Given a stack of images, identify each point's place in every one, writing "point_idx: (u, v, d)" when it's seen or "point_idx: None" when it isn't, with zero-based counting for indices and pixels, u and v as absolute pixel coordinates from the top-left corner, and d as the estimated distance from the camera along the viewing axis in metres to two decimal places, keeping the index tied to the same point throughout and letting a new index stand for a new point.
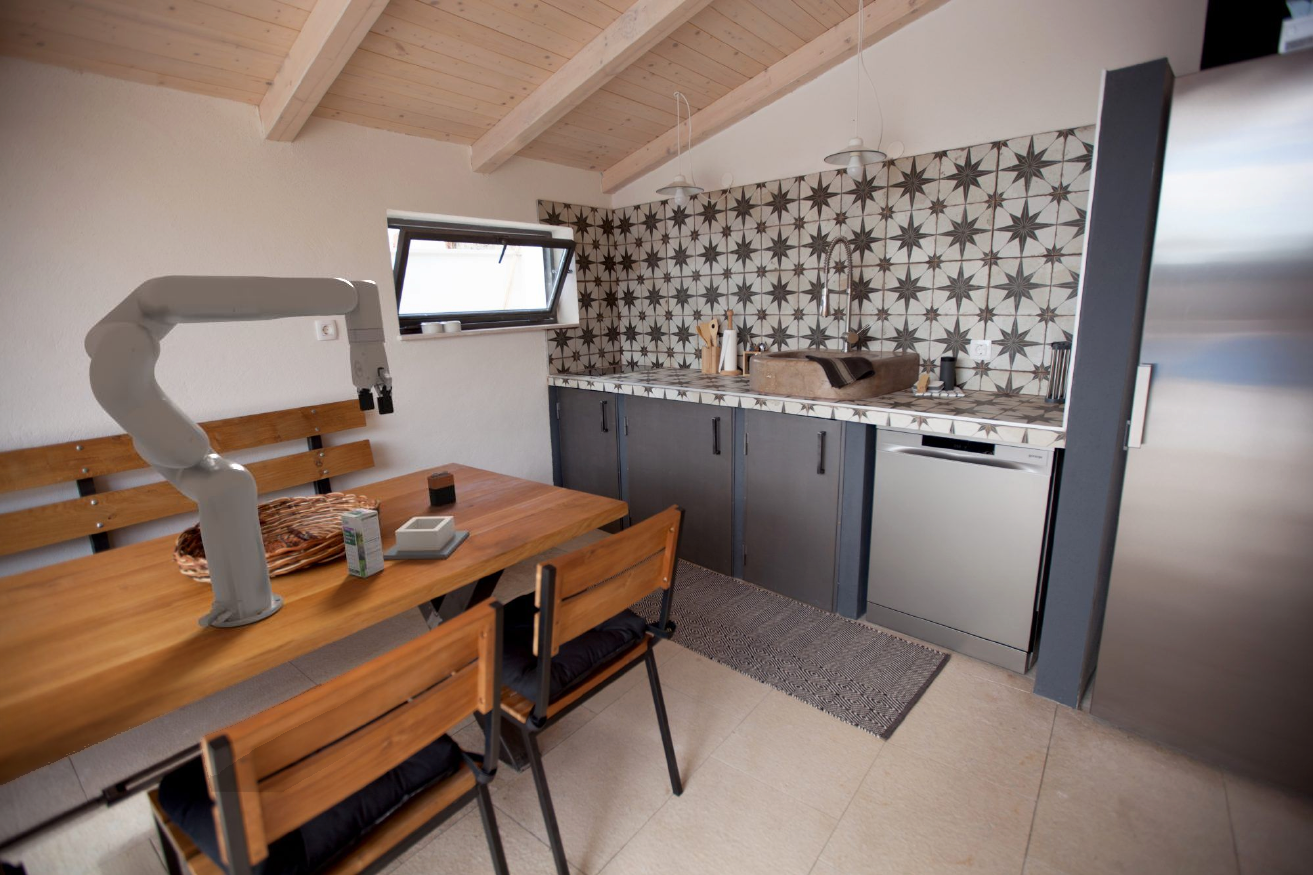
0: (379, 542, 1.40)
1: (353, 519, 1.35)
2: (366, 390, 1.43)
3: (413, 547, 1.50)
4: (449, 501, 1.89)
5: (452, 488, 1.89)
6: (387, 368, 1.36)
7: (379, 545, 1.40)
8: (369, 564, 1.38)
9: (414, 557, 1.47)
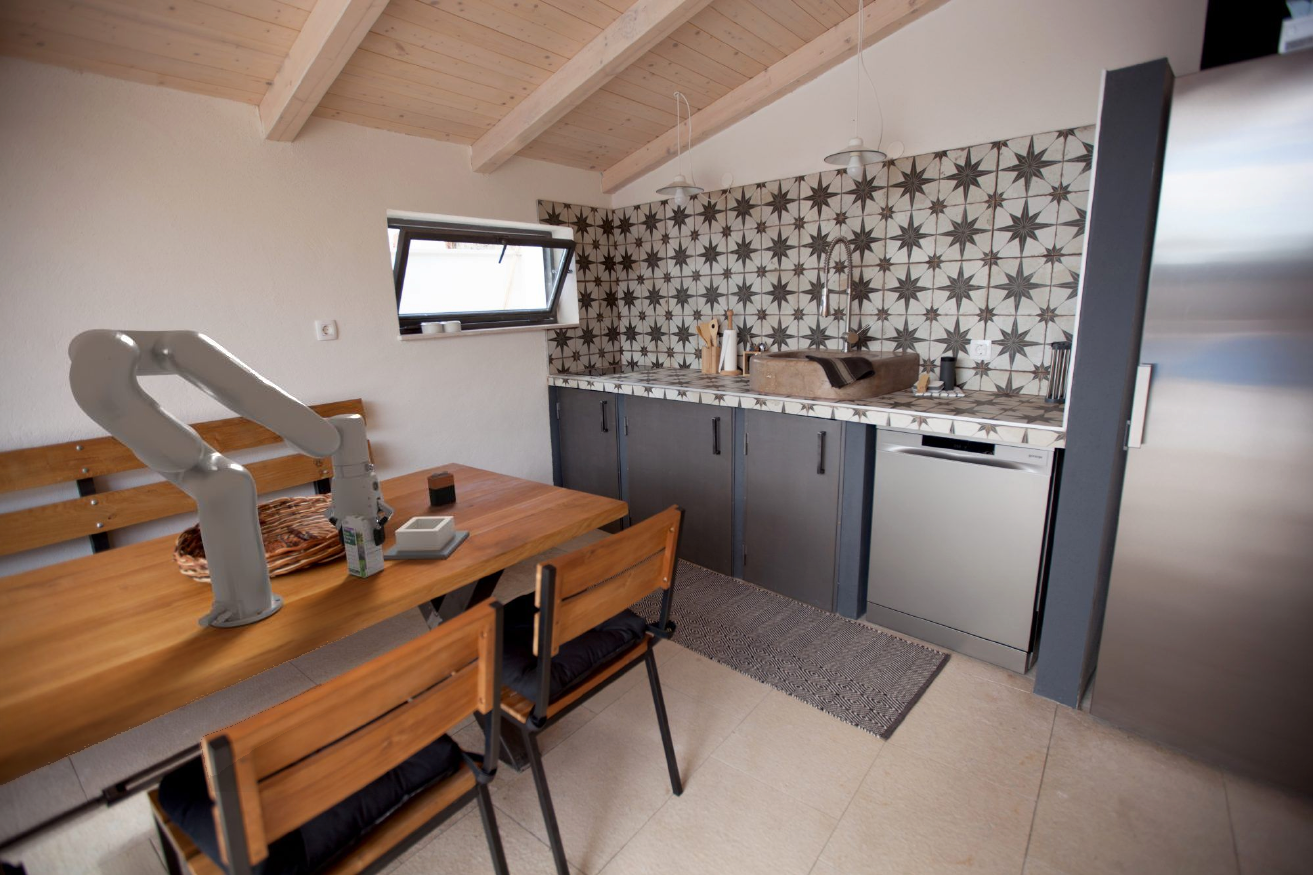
0: None
1: (353, 519, 1.35)
2: None
3: (413, 547, 1.50)
4: (449, 501, 1.89)
5: (452, 488, 1.89)
6: None
7: (379, 545, 1.40)
8: (369, 564, 1.38)
9: (414, 557, 1.47)
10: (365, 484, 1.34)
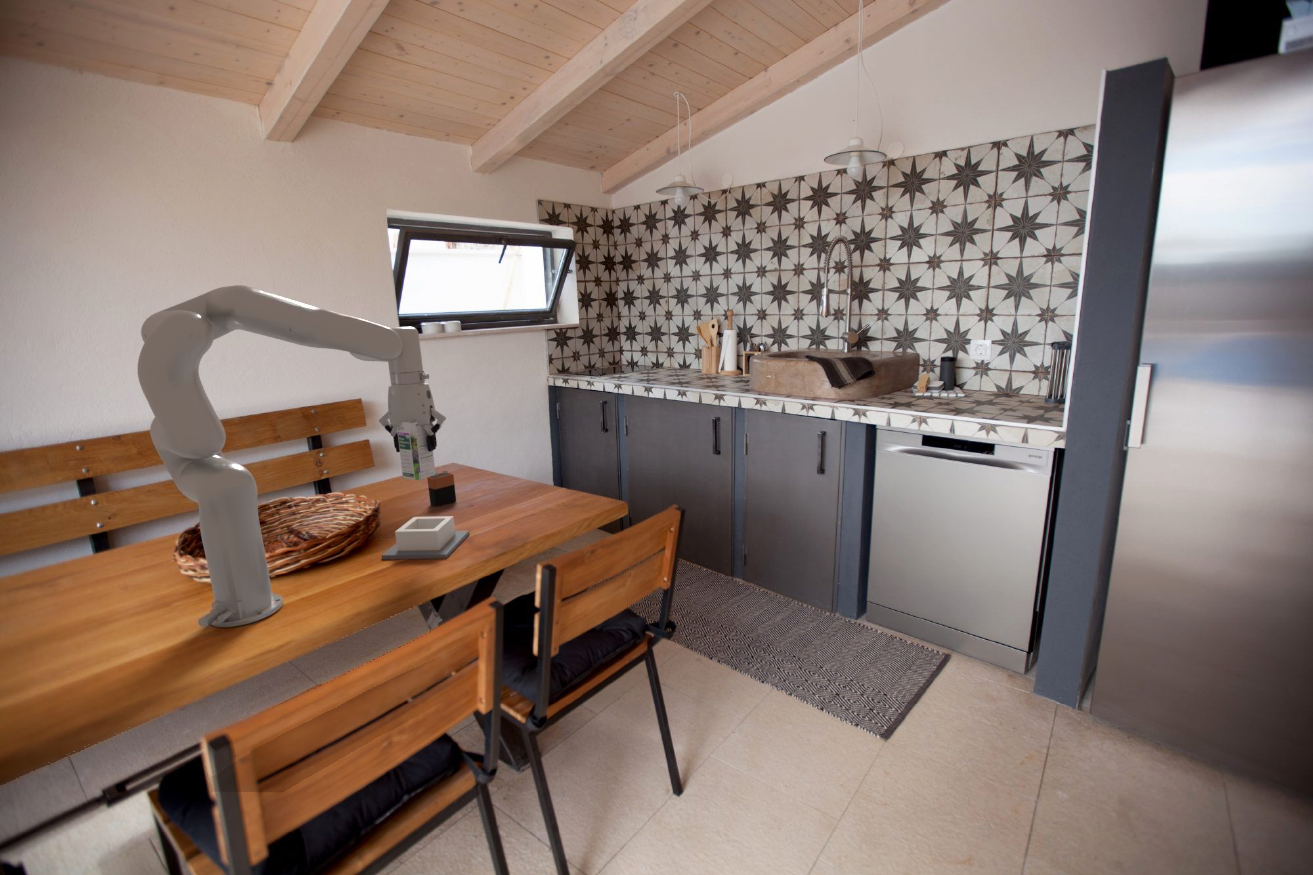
0: None
1: (408, 424, 1.45)
2: None
3: (413, 547, 1.50)
4: (449, 501, 1.89)
5: (452, 488, 1.89)
6: None
7: (431, 452, 1.51)
8: (422, 468, 1.48)
9: (414, 557, 1.47)
10: (420, 391, 1.45)
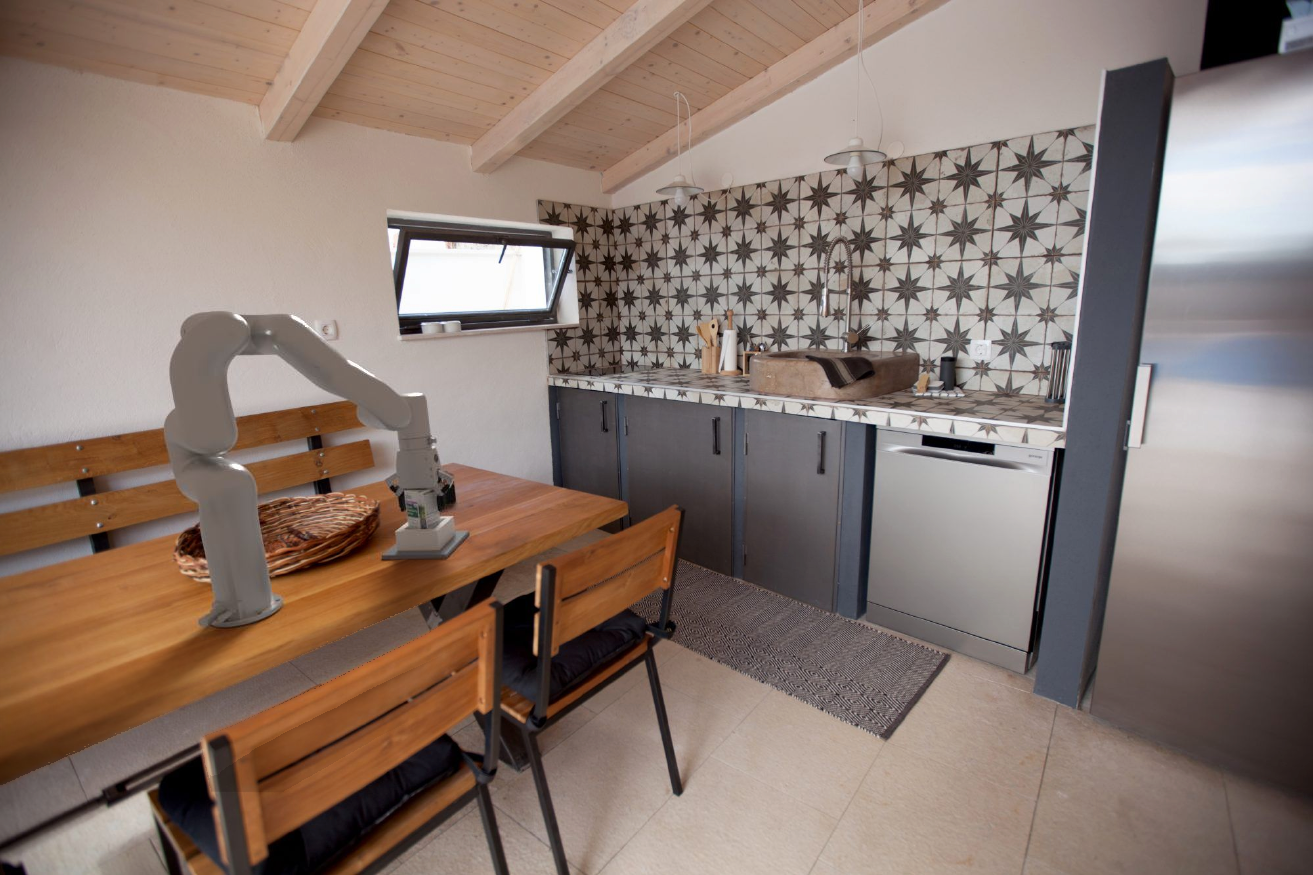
0: (438, 515, 1.54)
1: (416, 494, 1.49)
2: None
3: (413, 547, 1.50)
4: (449, 501, 1.89)
5: (452, 488, 1.89)
6: None
7: (438, 518, 1.54)
8: None
9: (414, 557, 1.47)
10: (427, 456, 1.48)
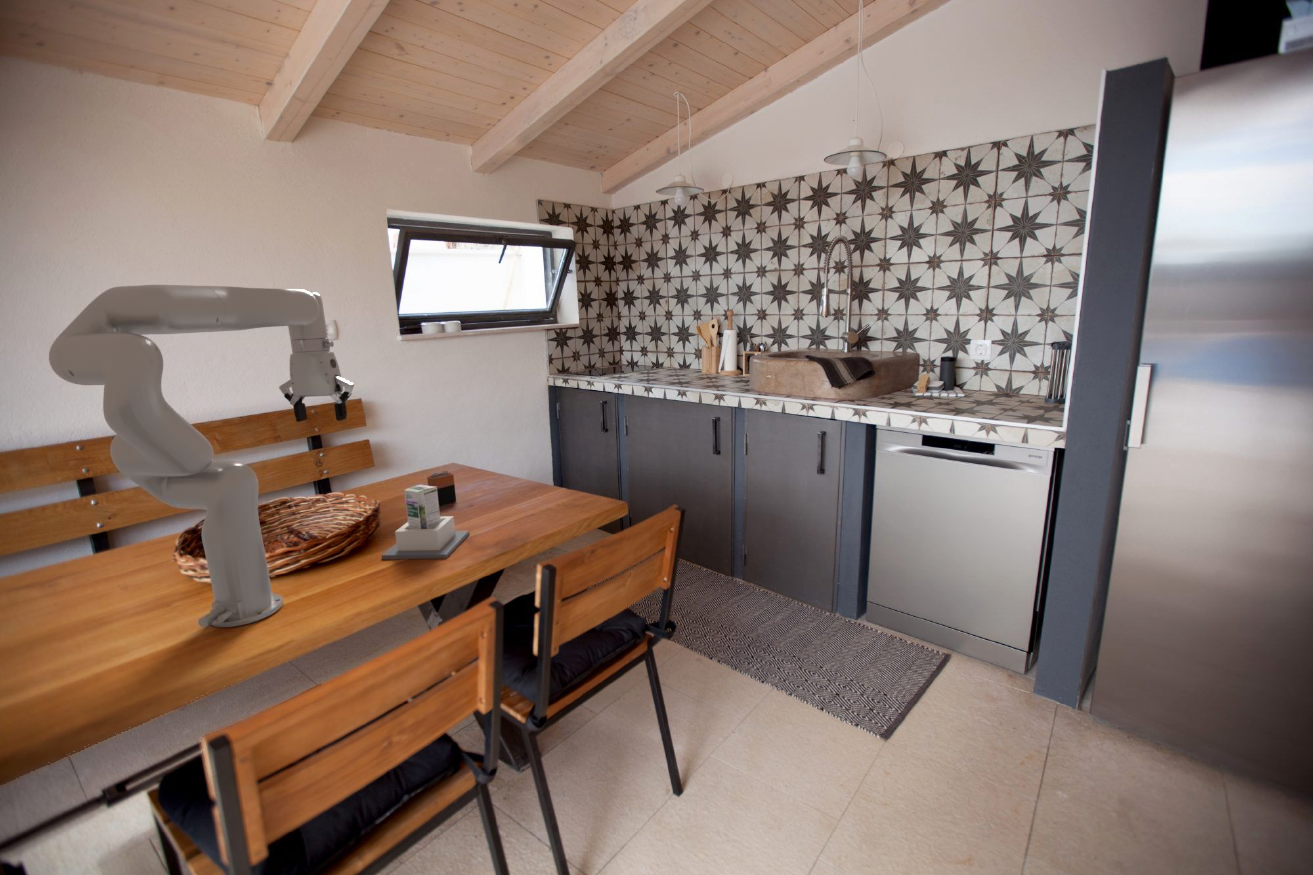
0: (438, 515, 1.54)
1: (416, 494, 1.49)
2: None
3: (413, 547, 1.50)
4: (449, 501, 1.89)
5: (452, 488, 1.89)
6: None
7: (438, 518, 1.54)
8: None
9: (414, 557, 1.47)
10: (322, 360, 1.38)
